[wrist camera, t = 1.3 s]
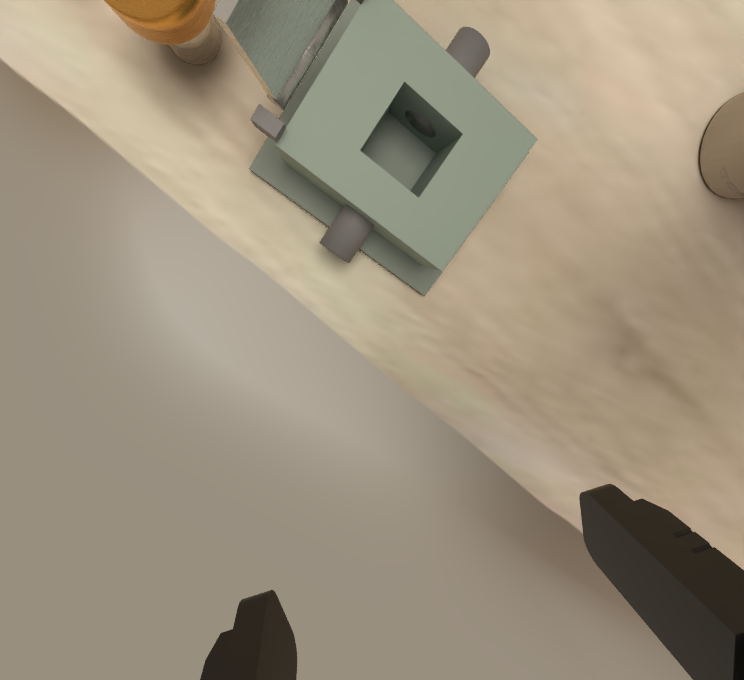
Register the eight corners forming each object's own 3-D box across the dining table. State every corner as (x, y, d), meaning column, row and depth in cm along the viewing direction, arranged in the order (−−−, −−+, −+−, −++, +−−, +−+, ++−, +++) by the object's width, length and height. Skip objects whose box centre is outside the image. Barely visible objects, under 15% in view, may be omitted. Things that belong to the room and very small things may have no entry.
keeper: (333, -3, 23) (297, -154, 15) (349, 9, 23) (321, -136, 15) (271, 101, 24) (207, 10, 16) (286, 112, 24) (230, 26, 16)
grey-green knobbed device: (367, -23, 28) (384, -121, 20) (535, 138, 33) (601, 108, 25) (241, 186, 31) (214, 169, 23) (412, 307, 35) (438, 328, 28)
